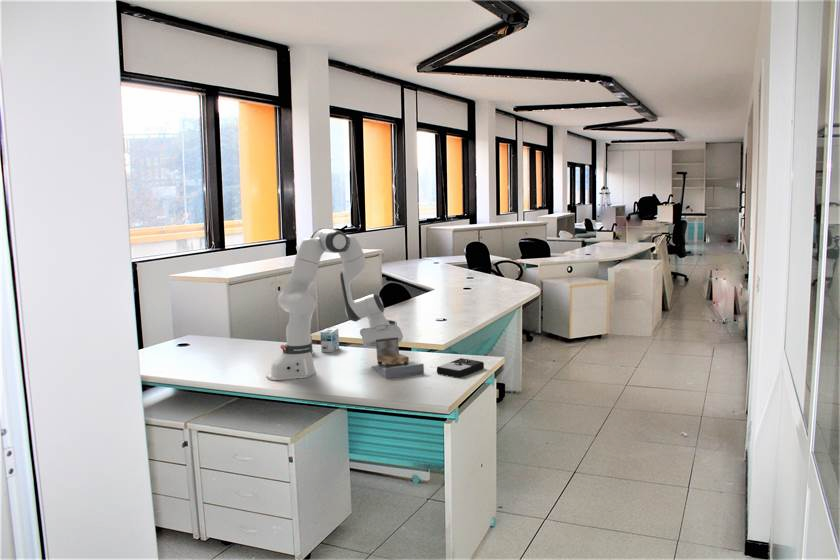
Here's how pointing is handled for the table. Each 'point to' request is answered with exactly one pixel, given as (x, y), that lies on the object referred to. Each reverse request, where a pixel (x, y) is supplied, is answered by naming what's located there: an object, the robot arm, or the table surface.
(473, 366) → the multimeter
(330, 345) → the light bulb box
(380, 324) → the robot arm
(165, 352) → the table surface
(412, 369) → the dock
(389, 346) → the open brown box
